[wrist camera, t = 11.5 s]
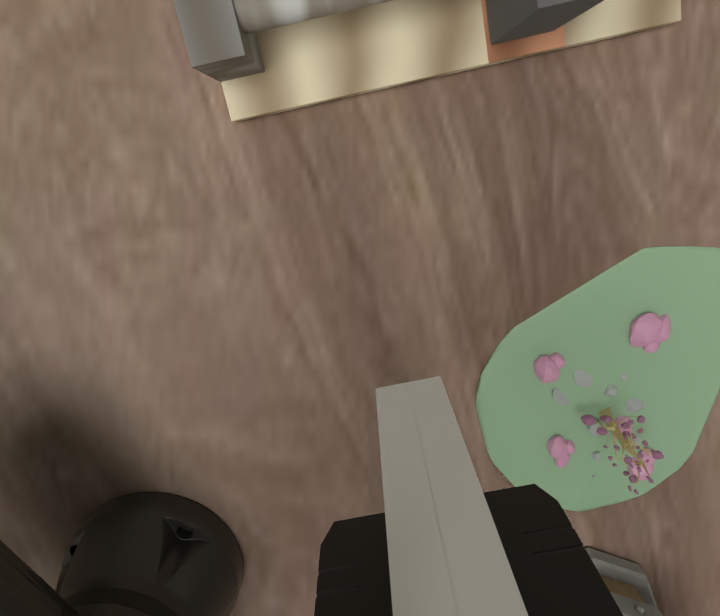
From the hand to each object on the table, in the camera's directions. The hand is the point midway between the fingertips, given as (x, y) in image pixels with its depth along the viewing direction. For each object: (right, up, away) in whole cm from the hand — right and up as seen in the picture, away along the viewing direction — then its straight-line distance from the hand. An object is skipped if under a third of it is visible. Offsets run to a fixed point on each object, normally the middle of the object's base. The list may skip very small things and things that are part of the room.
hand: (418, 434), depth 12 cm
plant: (+20, -2, +31) cm, 37 cm away
